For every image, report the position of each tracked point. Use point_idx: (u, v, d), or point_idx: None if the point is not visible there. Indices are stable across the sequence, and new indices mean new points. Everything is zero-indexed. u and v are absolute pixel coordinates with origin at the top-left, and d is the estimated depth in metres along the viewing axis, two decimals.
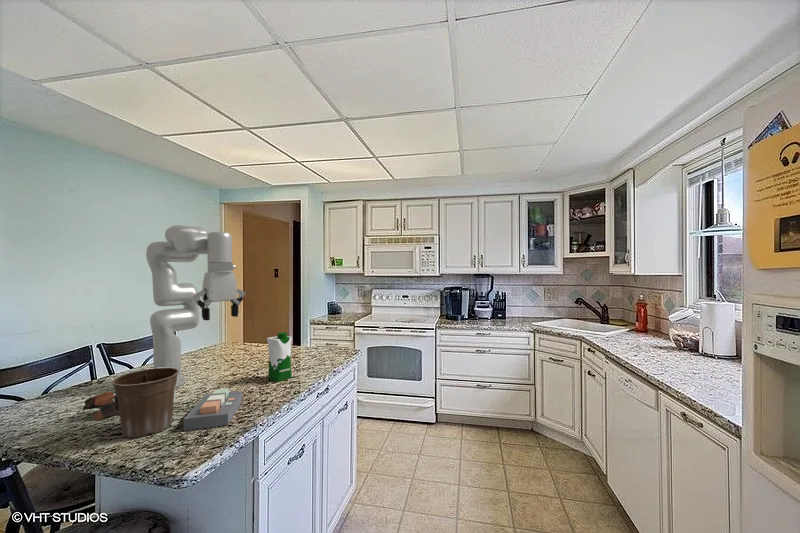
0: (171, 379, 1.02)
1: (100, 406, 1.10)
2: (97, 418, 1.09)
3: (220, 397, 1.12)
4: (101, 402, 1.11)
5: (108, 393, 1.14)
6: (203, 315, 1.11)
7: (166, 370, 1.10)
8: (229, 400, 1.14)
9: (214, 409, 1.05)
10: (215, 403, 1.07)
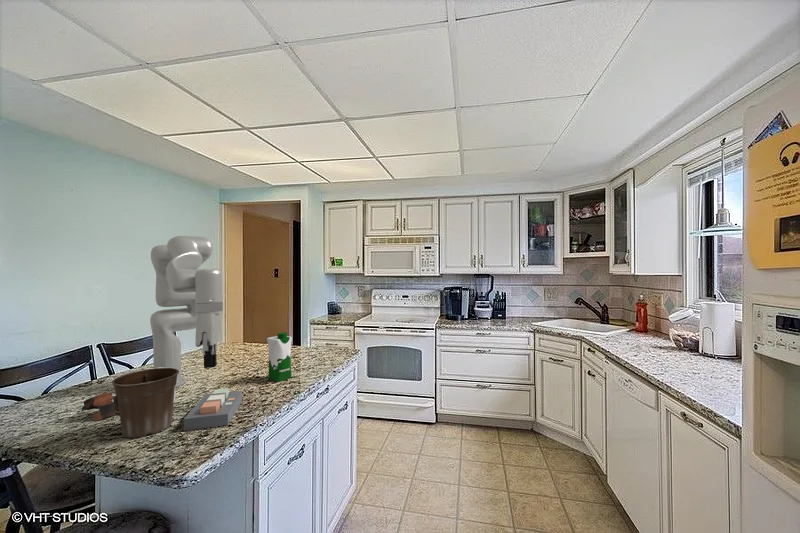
0: (171, 379, 1.02)
1: (99, 407, 1.09)
2: (96, 419, 1.08)
3: (220, 397, 1.12)
4: (100, 403, 1.10)
5: (107, 394, 1.14)
6: (209, 362, 1.05)
7: (166, 370, 1.10)
8: (229, 400, 1.14)
9: (214, 409, 1.05)
10: (215, 403, 1.07)
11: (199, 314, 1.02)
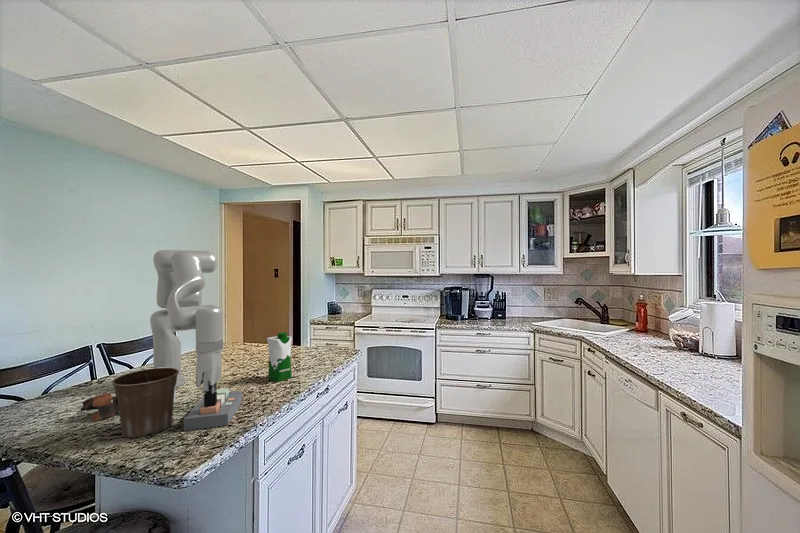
0: (171, 379, 1.02)
1: (98, 407, 1.09)
2: (95, 419, 1.08)
3: (220, 397, 1.12)
4: (99, 403, 1.10)
5: (106, 394, 1.13)
6: (209, 401, 1.05)
7: (166, 370, 1.10)
8: (229, 400, 1.14)
9: (214, 410, 1.05)
10: None
11: (199, 354, 1.02)
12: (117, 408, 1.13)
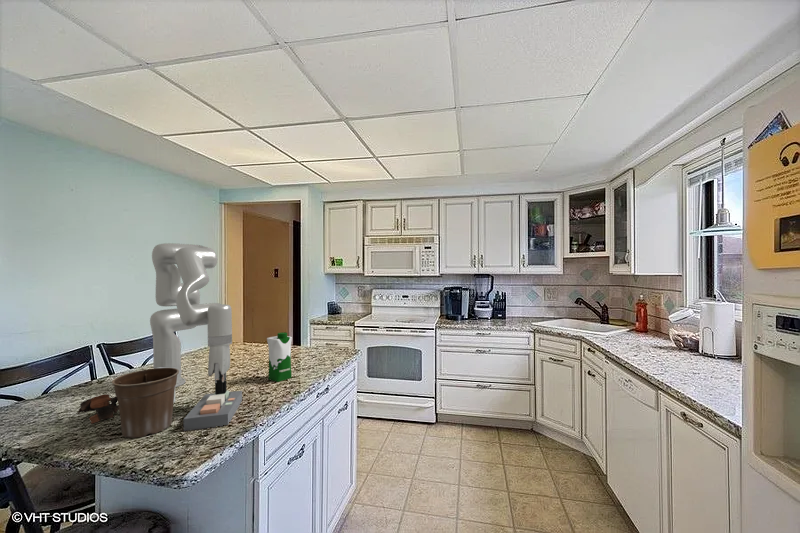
0: (171, 379, 1.02)
1: (96, 409, 1.08)
2: (93, 421, 1.07)
3: (220, 397, 1.12)
4: (97, 405, 1.09)
5: (104, 395, 1.12)
6: (220, 389, 1.16)
7: (166, 370, 1.10)
8: (229, 400, 1.14)
9: (214, 412, 1.05)
10: (215, 406, 1.07)
11: (211, 347, 1.14)
12: (115, 409, 1.12)
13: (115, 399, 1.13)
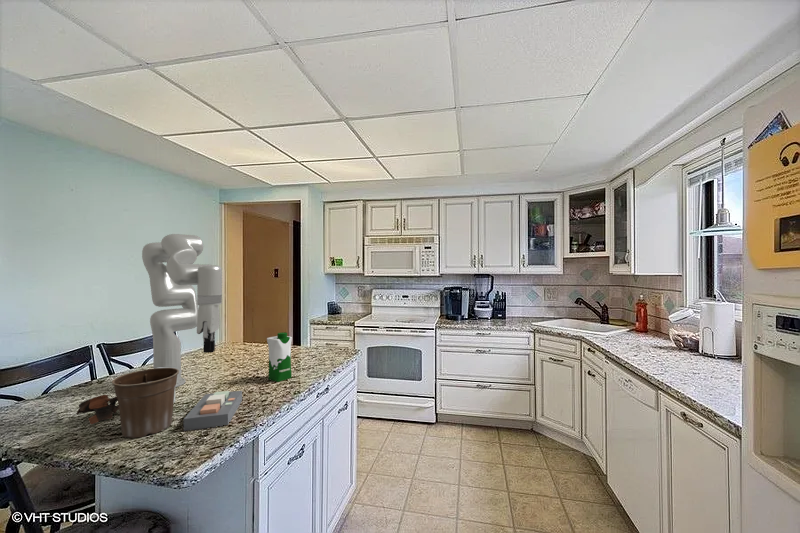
0: (171, 379, 1.02)
1: (95, 409, 1.07)
2: (92, 422, 1.06)
3: (220, 397, 1.12)
4: (96, 405, 1.08)
5: (103, 396, 1.11)
6: (208, 348, 1.18)
7: (166, 370, 1.10)
8: (229, 400, 1.14)
9: (214, 412, 1.05)
10: (215, 406, 1.07)
11: (200, 305, 1.16)
12: (114, 410, 1.12)
13: (114, 400, 1.12)
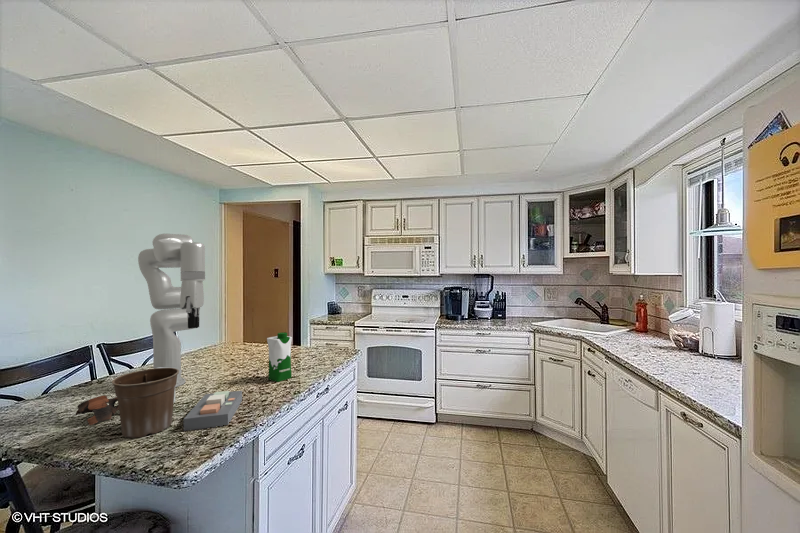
0: (171, 379, 1.02)
1: (94, 410, 1.07)
2: (91, 423, 1.06)
3: (220, 397, 1.12)
4: (95, 406, 1.07)
5: (102, 397, 1.11)
6: (192, 323, 1.20)
7: (166, 370, 1.10)
8: (229, 400, 1.14)
9: (214, 412, 1.05)
10: (215, 406, 1.07)
11: (183, 281, 1.18)
12: (113, 411, 1.11)
13: (113, 400, 1.12)
